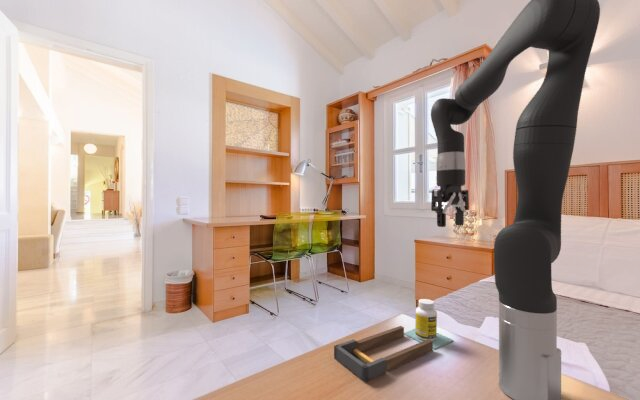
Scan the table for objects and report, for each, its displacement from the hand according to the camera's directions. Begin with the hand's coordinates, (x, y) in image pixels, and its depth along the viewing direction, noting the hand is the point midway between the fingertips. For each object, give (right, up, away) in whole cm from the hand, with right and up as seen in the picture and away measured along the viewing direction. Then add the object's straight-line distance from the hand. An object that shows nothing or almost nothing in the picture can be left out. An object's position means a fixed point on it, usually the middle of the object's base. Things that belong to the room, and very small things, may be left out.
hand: (450, 225), depth 84 cm
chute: (-19, -30, -11) cm, 37 cm away
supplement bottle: (-9, -30, -4) cm, 32 cm away
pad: (-8, -30, -4) cm, 31 cm away
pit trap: (-29, -30, -17) cm, 45 cm away
